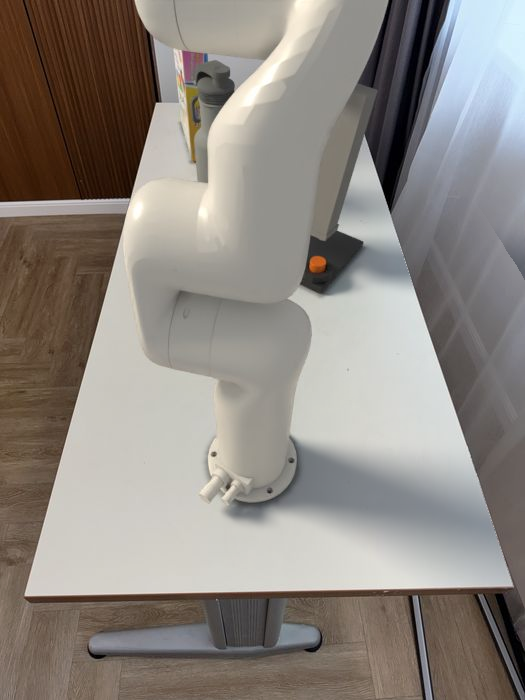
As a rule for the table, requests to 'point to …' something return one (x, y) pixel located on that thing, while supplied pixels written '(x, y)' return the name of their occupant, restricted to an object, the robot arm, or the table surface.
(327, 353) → the table surface
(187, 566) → the table surface
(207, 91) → the water bottle
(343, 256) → the scale
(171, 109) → the table surface
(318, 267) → the tare button
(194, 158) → the game box
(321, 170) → the grey tall block
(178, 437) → the table surface
